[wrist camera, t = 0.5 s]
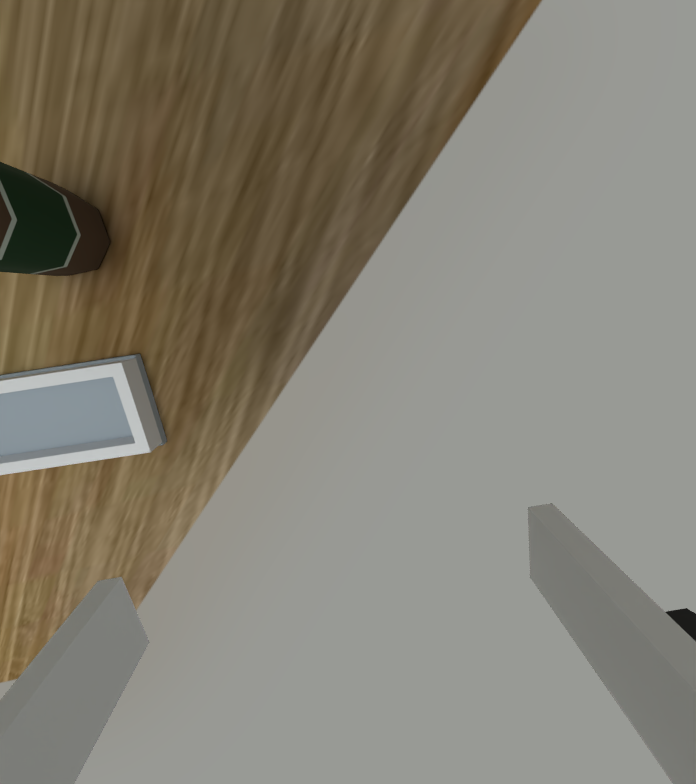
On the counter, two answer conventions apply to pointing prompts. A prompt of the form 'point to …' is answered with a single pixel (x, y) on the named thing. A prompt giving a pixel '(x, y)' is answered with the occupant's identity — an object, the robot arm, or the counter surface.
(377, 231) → the counter surface
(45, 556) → the counter surface
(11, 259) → the beer bottle
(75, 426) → the tray
